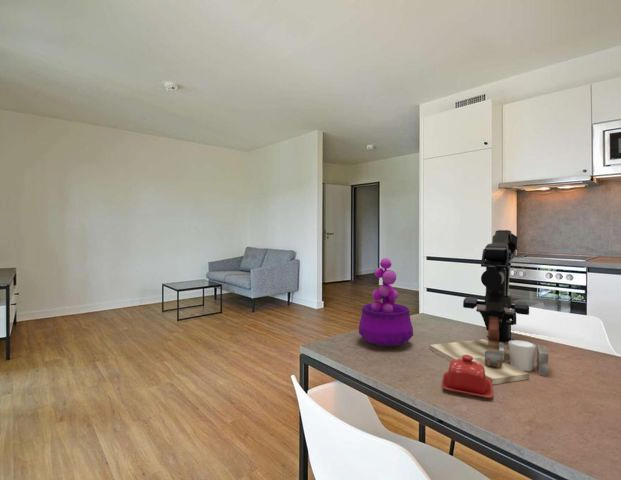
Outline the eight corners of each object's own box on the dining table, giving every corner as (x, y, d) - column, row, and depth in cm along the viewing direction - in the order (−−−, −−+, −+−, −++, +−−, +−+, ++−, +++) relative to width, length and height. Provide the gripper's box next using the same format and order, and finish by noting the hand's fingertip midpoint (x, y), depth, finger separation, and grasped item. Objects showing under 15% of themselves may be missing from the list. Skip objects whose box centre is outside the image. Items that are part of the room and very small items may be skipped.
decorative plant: (424, 346, 118) (425, 258, 117) (383, 356, 109) (383, 261, 108) (386, 331, 135) (387, 255, 134) (348, 339, 126) (348, 257, 125)
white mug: (541, 372, 97) (541, 347, 97) (516, 371, 97) (516, 347, 97) (526, 362, 104) (526, 339, 104) (503, 362, 104) (503, 339, 104)
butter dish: (491, 383, 91) (491, 351, 90) (493, 403, 80) (493, 367, 80) (444, 375, 96) (444, 345, 95) (440, 393, 85) (441, 359, 85)
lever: (504, 368, 95) (505, 336, 94) (484, 365, 97) (485, 333, 97) (502, 344, 114) (503, 317, 114) (486, 342, 116) (486, 315, 116)
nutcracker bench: (488, 342, 122) (489, 325, 122) (563, 374, 96) (564, 352, 96) (429, 349, 115) (429, 331, 115) (492, 384, 89) (492, 361, 89)
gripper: (461, 285, 110) (460, 333, 111) (531, 290, 101) (529, 343, 102) (465, 280, 120) (464, 324, 121) (529, 285, 111) (527, 333, 112)
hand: (494, 331), depth 114 cm, fingers open, 3 cm apart
